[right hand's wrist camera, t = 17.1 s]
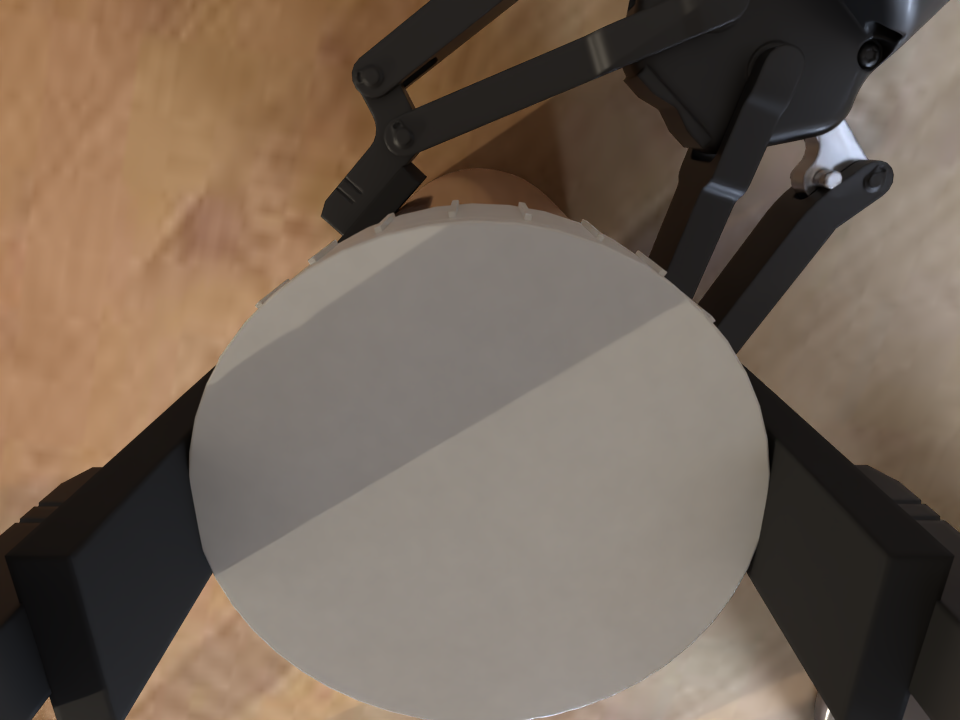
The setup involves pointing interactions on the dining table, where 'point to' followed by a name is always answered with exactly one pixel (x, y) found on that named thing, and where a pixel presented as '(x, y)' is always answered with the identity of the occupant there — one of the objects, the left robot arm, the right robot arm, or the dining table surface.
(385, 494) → the lid
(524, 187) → the jar
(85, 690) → the right robot arm
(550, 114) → the dining table surface
